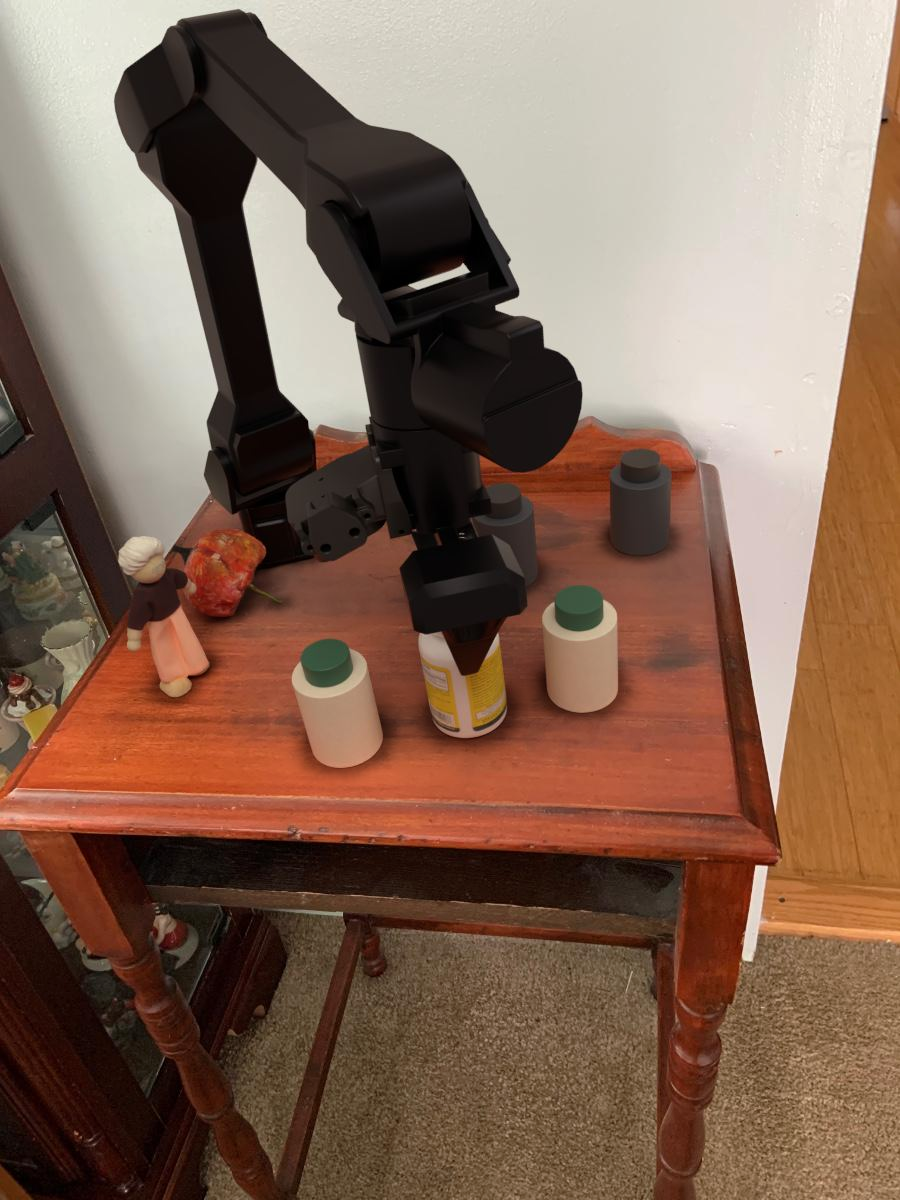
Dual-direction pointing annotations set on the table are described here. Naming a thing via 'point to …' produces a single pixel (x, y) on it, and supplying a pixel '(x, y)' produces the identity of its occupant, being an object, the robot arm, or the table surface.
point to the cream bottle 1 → (337, 704)
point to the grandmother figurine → (161, 615)
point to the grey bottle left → (512, 525)
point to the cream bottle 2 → (581, 650)
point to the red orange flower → (222, 570)
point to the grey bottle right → (640, 503)
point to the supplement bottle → (462, 689)
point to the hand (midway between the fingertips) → (454, 628)
